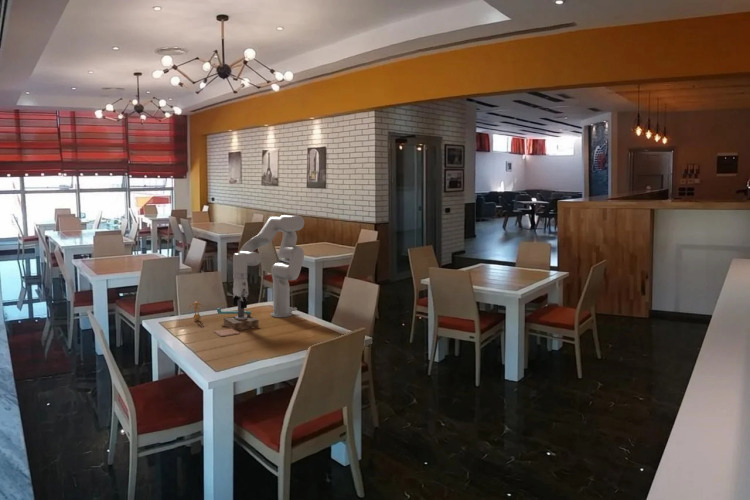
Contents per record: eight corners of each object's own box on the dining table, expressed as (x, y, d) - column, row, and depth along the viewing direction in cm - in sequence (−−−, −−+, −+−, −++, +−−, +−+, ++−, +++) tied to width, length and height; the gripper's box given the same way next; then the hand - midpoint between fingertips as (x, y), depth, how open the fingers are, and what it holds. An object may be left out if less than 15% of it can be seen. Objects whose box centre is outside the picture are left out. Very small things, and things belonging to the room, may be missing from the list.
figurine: (205, 319, 327) (204, 298, 326) (204, 322, 322) (203, 301, 320) (189, 320, 326) (189, 299, 324) (188, 322, 320) (188, 301, 318)
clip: (251, 313, 321) (251, 308, 320) (250, 314, 318) (250, 309, 318) (217, 312, 320) (217, 308, 320) (216, 313, 317) (216, 309, 317)
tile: (232, 329, 307) (231, 328, 307) (239, 333, 299) (239, 332, 299) (213, 332, 301) (213, 331, 301) (221, 336, 293) (221, 335, 293)
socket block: (247, 321, 324) (247, 312, 323) (258, 327, 313) (258, 317, 312) (223, 325, 316) (223, 315, 315) (234, 330, 304) (234, 320, 304)
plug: (243, 324, 318) (243, 298, 317) (248, 326, 314) (248, 300, 312) (233, 325, 315) (233, 299, 313) (238, 328, 310) (237, 301, 308)
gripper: (253, 277, 306) (253, 308, 308) (240, 273, 320) (240, 303, 321) (240, 278, 301) (240, 310, 303) (227, 273, 315) (227, 304, 317)
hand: (240, 306), depth 312 cm, fingers open, 9 cm apart
